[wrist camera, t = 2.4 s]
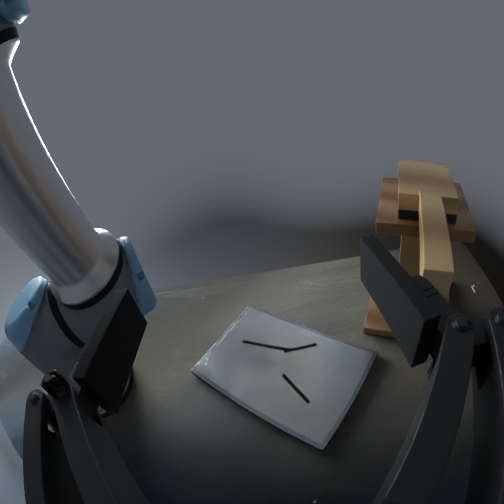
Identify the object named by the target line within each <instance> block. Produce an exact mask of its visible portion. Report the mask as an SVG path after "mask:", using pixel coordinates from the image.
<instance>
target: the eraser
mask: <svg viewBox="0 0 504 504" xmlns="http://www.w3.org/2000/svg"><path fill="white" fill-rule="evenodd" d="M458 205H459V197H458V194H457V191H456V188H455V185H454V183H453V180H452V177H451V175H450V172H449V170H448V167H447V165H446V164H444V163H433V162H420V161H404V160H403V161H402V160H399V188H398V219H406V220H418V221H419V232H420V275H421V276H423V277H424V278H426V279H428V280H429V281H430V282H431V283H432V284H433V286H434V288H436V289H437V290H438V291H439V294H441V295H442V296H447V295H448V292H449V289H450V286H451V283H452V279H453V276H454V265H453V257H452V249H451V242H450V236H449V230H448V225H447V223H448V224H456V219H457V213H458Z"/></svg>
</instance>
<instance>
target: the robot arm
mask: <svg viewBox="0 0 504 504" xmlns="http://www.w3.org/2000/svg"><path fill="white" fill-rule="evenodd" d="M29 13H30V8H29V5H28V0H0V225H1V226H2V227H3V229H4V230H5V231H6V232H7V233H8V235H9V236H10V237H11V238H12V239H13V240H14V241H15V243H17V245H18V246H19V247H20V248H21V249H22V250H23V251H24V252H25V253H26V254H27V256H28V257H29V258H30V259H31V260H32V261H33V262H34V263H35V264H36V265H37V266H38V267H39V268H41V270H42V271H43V272H44V273H45V274H46V275H47V276H48V277H49V284H48V283H47V280H46V279H44V278H43V277H41V276H39V277H36V278H34V279H33V280H32V281H30V282H29V283H28V284H27V285H26V286H25V287H24V289H23V290H22V291H21V292H20V294H19V295H18V296H17V298H16V299H15V301H14V303H13V304H12V306H11V308H10V310H9V312H8V315H7V317H6V321H5V332H6V336H7V337H8V339H9V340H10V341H11V342H12V343H13V344H14V346H15V347H16V348H17V350H18V351H19V352H20V353H21V354H23V355H24V356H25V357H26V358H27V359H28V360H29V361H30V362H31V363H32V364H34V365H35V366H36V367H37V368H38V369H39V370H41V371H42V372H43V373H44V374H45V376H44V377H43V379H42V382H41V386H42V387H43V388H44V389H45V390H46V391H47V392H48V393H49V394H47V395H45V394H44V393H43V392H42V391H41V390H40V389H35V390H33V391H32V392H31V393H30V394H29V396H28V398H27V402H26V410H25V421H24V437H23V474H24V490H25V500H26V504H150V503H149V501H148V500H147V498H146V497H145V495H144V494H143V492H142V491H141V489H140V487H139V486H138V484H137V483H136V481H135V479H134V478H133V476H132V474H131V473H130V471H129V469H128V467H127V466H126V464H125V462H124V460H123V458H122V457H121V455H120V453H119V451H118V449H117V447H116V445H115V443H114V441H113V439H112V437H111V435H110V433H109V430H108V428H107V426H106V424H105V422H104V419H103V417H105V416H108V415H110V414H111V413H113V412H114V413H118V411H119V408H120V406H121V405H122V403H123V402H124V400H125V399H126V397H127V395H128V393H129V391H130V388H131V384H132V366H133V363H134V360H135V357H136V354H137V351H138V348H139V345H140V342H141V340H142V337H143V334H144V331H145V328H146V326H147V322H146V320H145V318H144V315H146V314H147V313H149V312H150V311H152V310H153V309H154V307H155V305H156V298H155V295H154V293H153V291H152V289H151V287H150V285H149V283H148V281H147V278H146V276H145V274H144V272H143V270H142V267H141V265H140V263H139V260H138V258H137V256H136V253H135V251H134V249H133V246H132V244H131V241H130V239H129V238H128V237H126V236H125V237H122V238H121V237H120V238H118V239H117V240H116V239H115V237H114V236H113V235H112V234H111V233H110V232H109V231H107V230H104V229H98V228H94V227H93V226H92V225H91V223H90V221H89V220H88V218H87V217H86V215H85V214H84V212H83V210H82V209H81V207H80V206H79V204H78V203H77V201H76V200H75V198H74V196H73V195H72V193H71V191H70V190H69V188H68V187H67V185H66V183H65V182H64V180H63V178H62V177H61V175H60V173H59V171H58V169H57V168H56V166H55V164H54V162H53V160H52V159H51V157H50V155H49V153H48V151H47V149H46V147H45V145H44V143H43V141H42V140H41V138H40V135H39V134H38V131H37V129H36V127H35V125H34V123H33V121H32V119H31V117H30V115H29V112H28V110H27V107H26V105H25V103H24V100H23V98H22V96H21V93H20V91H19V88H18V85H17V83H16V81H15V78H14V75H13V72H12V69H11V66H10V64H11V60H12V57H13V55H14V53H15V51H16V48H17V46H18V44H19V42H20V41H19V36H18V33H17V29H16V25H17V24H21V23H22V22H23V21H24V19H26V18H27V17H28V15H29ZM360 257H361V281H362V282H363V284H364V286H365V287H366V289H367V291H368V292H369V294H370V295H371V297H372V299H373V300H374V302H375V304H376V305H377V307H378V309H379V310H380V312H381V314H382V316H383V317H384V319H385V321H386V322H387V324H388V326H389V328H390V329H391V331H392V333H393V335H394V337H395V338H396V340H397V342H398V344H399V346H400V348H401V349H402V351H403V353H404V355H405V357H406V359H407V361H408V363H409V364H410V366H411V367H414V366H416V365H419V364H421V363H424V362H426V360H427V358H428V355H429V353H430V355H431V356H432V358H433V361H432V364H431V366H430V369H429V371H428V374H429V375H428V378H427V382H426V385H425V388H424V391H423V394H422V397H421V400H420V403H419V406H418V409H417V411H416V414H415V417H414V419H413V422H412V424H411V427H410V429H409V432H408V434H407V437H406V439H405V441H404V443H403V446H402V448H401V450H400V452H399V454H398V456H397V458H396V460H395V462H394V464H393V466H392V468H391V470H390V472H389V474H388V476H387V478H386V479H385V481H384V483H383V485H382V487H381V488H380V490H379V492H378V493H377V495H376V497H375V498H374V500H373V501H372V503H371V504H429V503H430V500H431V498H432V496H433V494H434V492H435V490H436V488H437V486H438V483H439V481H440V479H441V476H442V474H443V471H444V469H445V466H446V464H447V461H448V458H449V456H450V453H451V450H452V447H453V444H454V441H455V438H456V434H457V431H458V427H459V424H460V420H461V416H462V412H463V408H464V404H465V399H466V394H467V389H468V384H469V378H470V372H472V384H473V405H474V427H473V448H472V460H471V468H470V476H469V483H468V489H467V494H466V499H465V504H504V309H503V308H495V309H493V310H492V311H491V312H490V314H489V316H488V318H487V319H480V320H472V318H471V317H469V316H468V315H466V314H463V313H456V312H455V310H454V309H453V308H452V307H451V306H450V304H449V303H448V302H447V301H446V300H445V298H444V297H443V296H442V295H441V294H439V291H438V290H437V289H436V288H434V286H433V284H432V283H431V282H430V281H429V280H428V279H426V278H424V277H423V276H421V275H417V276H414V277H410V275H409V274H408V273H407V272H406V271H405V270H404V268H403V267H402V266H401V265H400V264H399V263H398V262H397V261H396V259H395V258H394V257H393V256H392V255H391V254H390V253H389V252H388V251H387V249H386V248H384V246H383V245H382V244H381V243H380V242H379V241H378V240H377V239H376V238H375V237H374V236H373V235H369V236H364V237H360ZM48 425H49V426H51V427H52V432H51V431H50V430H48Z"/></svg>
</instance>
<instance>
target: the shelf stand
mask: <svg viewBox="0 0 504 504" xmlns="http://www.w3.org/2000/svg"><path fill="white" fill-rule="evenodd" d="M454 185H455V188H456V191H457V194H458V197H459V205H458V213H457V219H456V224H448V223H447V225H448V230H449V236H450V241H459V242H468V243H474V240H475V236H476V229H475V226H474V223H473V220H472V217H471V213H470V211H469V208H468V205H467V202H466V199H465V197H464V194H463V191H462V189H461V186H460V184H458V183H454ZM398 188H399V178H383V181H382V188H381V195H380V201H379V208H378V213H377V219H376V233H377V234H389V235H399V236H401V246H400V258H399V264H400V265H401V266H402V267H403V268H404V270H405V271H406V272H407V273H408V274H409V275H410V277H414V276H417V275H420V232H419V221H418V220H406V219H398ZM443 297H444V298H445V300H446V301H447V302H448V303H449V292H448V295H447V296H443ZM363 333H367V334H373V335H380V336H386V337H393V338H395V337H394V335H393V333H392V331H391V329H390V328H389V326H388V324H387V322H386V321H385V319H384V317H383V316H382V314H381V312H380V310H379V309H378V307H377V305H376V304H375V302H374V300H373V299H372V297H371V301H370V305H369V309H368V313H367V317H366V321H365V325H364V332H363Z"/></svg>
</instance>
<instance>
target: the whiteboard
mask: <svg viewBox="0 0 504 504" xmlns="http://www.w3.org/2000/svg"><path fill="white" fill-rule="evenodd" d="M377 356H378V352H377V351H374V350H371V349H368V348H365V347H362V346H359V345H356V344H353V343H350V342H347V341H344V340H342V339H339V338H336V337H333V336H330V335H328V334H325V333H322V332H319V331H317V330H314V329H311V328H309V327H306V326H303V325H301V324H298V323H295V322H293V321H290V320H287V319H285V318H282V317H280V316H277V315H275V314H272V313H270V312H267V311H265V310H262V309H260V308H257V307H255V306H252V305H249V306H248V308H247V309H246V310H245V311H244V312H243V313H242V314H241V316H240V317H239V318H238V319H237V320H236V321H235V322H234V323H233V325H232V326H231V327H230V328H229V329H228V330H227V331H226V332H225V334H224V335H223V336H222V337H221V338H220V339H219V340H218V341H217V342H216V344H215V345H214V346H213V347H212V348H211V349H210V350H209V351H208V352H207V353H206V355H205V356H204V357H203V358H202V359H201V360H200V361H199V362H198V363H197V364H196V365H195V366H194V368H193V369H192V370H191V372H192V373H193V374H194V375H196V376H197V377H198V378H200V379H201V380H203V381H204V382H205V383H207V384H208V385H210V386H211V387H212V388H214V389H215V390H217V391H218V392H220V393H221V394H223V395H224V396H226V397H227V398H229V399H230V400H232V401H233V402H235V403H236V404H238V405H239V406H241V407H242V408H244V409H246V410H247V411H249V412H250V413H252V414H254V415H255V416H257V417H259V418H260V419H262V420H264V421H266V422H267V423H269V424H271V425H272V426H274V427H276V428H278V429H280V430H281V431H283V432H285V433H287V434H289V435H291V436H293V437H294V438H296V439H298V440H300V441H302V442H304V443H306V444H308V445H310V446H312V447H314V448H317V449H319V450H321V451H324V449H325V448H326V446H327V445H328V443H329V442H330V440H331V439H332V437H333V436H334V434H335V433H336V431H337V430H338V428H339V426H340V425H341V423H342V421H343V420H344V418H345V416H346V415H347V413H348V411H349V410H350V408H351V406H352V404H353V403H354V401H355V399H356V397H357V395H358V394H359V392H360V390H361V388H362V386H363V384H364V382H365V380H366V378H367V376H368V374H369V372H370V370H371V368H372V366H373V364H374V362H375V360H376V358H377Z"/></svg>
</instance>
